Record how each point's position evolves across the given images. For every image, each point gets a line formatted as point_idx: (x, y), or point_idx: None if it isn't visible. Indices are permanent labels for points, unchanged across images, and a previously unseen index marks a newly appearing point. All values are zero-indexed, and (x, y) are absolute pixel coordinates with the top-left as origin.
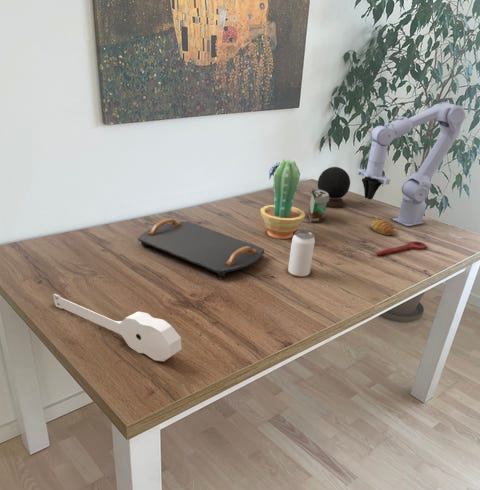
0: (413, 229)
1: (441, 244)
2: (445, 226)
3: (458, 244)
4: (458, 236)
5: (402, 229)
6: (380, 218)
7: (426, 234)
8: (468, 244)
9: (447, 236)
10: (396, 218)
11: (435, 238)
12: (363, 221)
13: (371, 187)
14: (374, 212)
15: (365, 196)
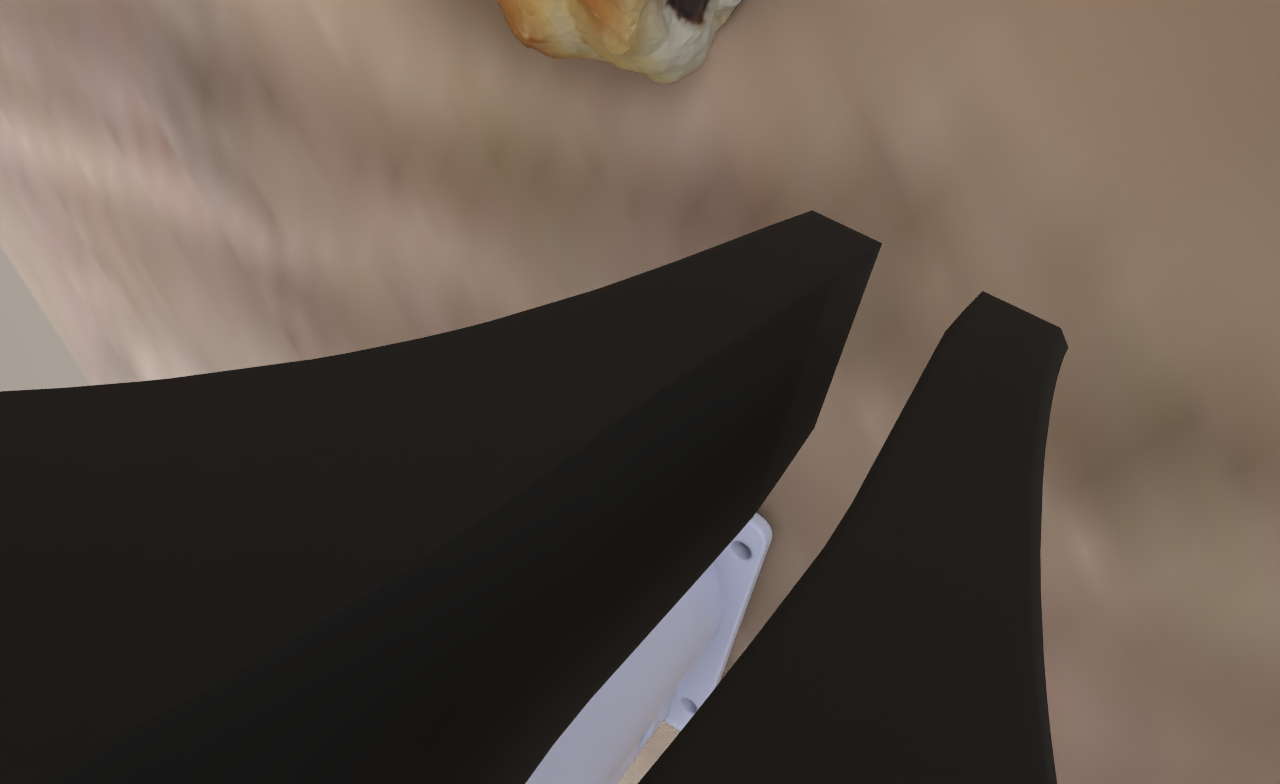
0: (420, 312)
1: (31, 26)
2: None
3: (26, 173)
4: None
5: (477, 203)
6: (615, 15)
7: (266, 239)
8: (24, 243)
9: (183, 331)
10: (731, 570)
11: (163, 177)
12: (1189, 72)
13: (159, 395)
14: (1191, 755)
15: (988, 326)
